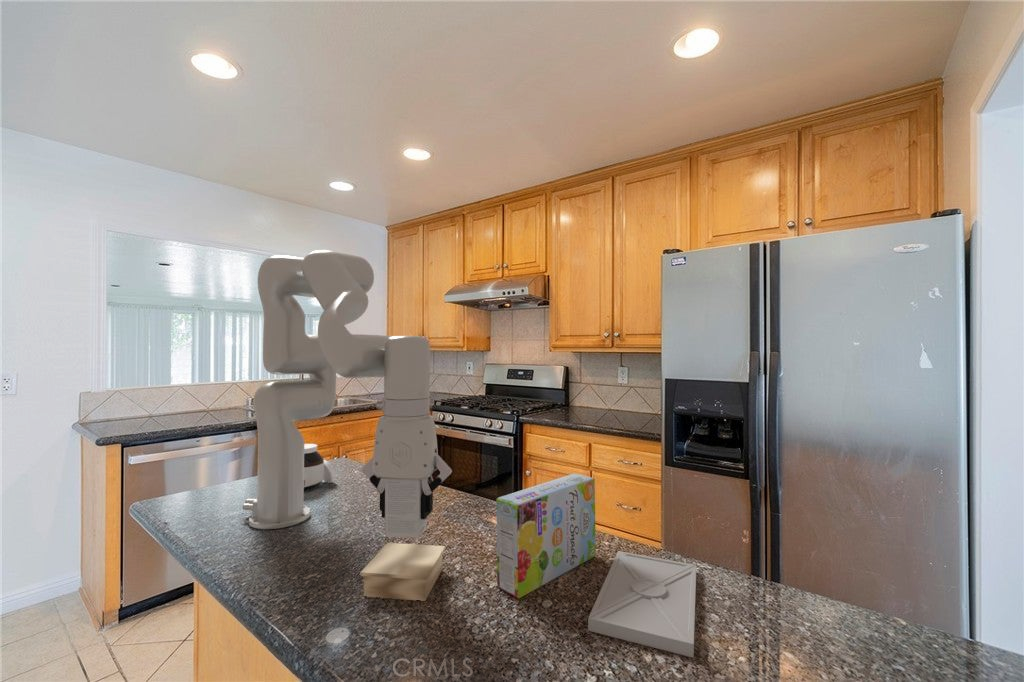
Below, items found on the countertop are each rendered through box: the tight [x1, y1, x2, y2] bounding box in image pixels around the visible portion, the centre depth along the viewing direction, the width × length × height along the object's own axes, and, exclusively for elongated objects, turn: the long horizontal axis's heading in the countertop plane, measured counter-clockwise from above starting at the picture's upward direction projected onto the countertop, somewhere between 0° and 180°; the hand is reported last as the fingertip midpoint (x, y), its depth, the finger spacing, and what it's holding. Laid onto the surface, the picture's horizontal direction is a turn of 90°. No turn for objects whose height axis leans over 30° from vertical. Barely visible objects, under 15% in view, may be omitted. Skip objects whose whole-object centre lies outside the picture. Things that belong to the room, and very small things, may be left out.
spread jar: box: [304, 443, 337, 492], centre depth 127 cm, size 12×11×12 cm
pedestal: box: [359, 542, 446, 602], centre depth 75 cm, size 11×11×4 cm
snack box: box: [496, 473, 597, 599], centre depth 79 cm, size 21×6×15 cm, turn 134°
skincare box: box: [384, 479, 428, 539], centre depth 75 cm, size 6×4×12 cm
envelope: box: [587, 550, 697, 658], centre depth 71 cm, size 24×2×14 cm
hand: (406, 514), depth 75 cm, fingers closed on skincare box, 6 cm apart
